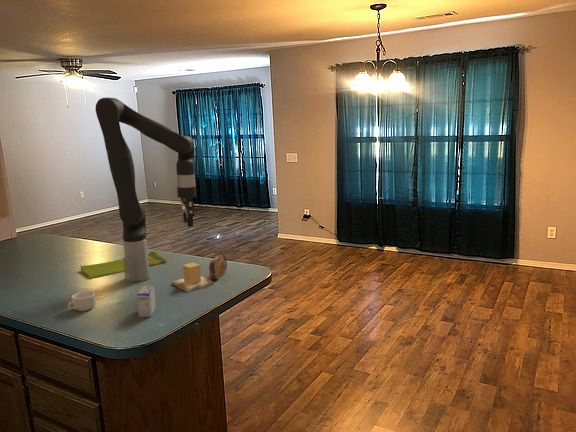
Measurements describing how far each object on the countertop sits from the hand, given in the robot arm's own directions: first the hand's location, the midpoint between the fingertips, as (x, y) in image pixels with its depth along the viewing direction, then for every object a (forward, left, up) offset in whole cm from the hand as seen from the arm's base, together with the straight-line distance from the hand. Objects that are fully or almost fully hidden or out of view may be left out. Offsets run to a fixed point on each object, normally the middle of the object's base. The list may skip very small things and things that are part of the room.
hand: (188, 224), depth 190 cm
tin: (+10, -5, -24) cm, 26 cm away
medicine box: (-29, -21, -24) cm, 43 cm away
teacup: (-45, -2, -24) cm, 51 cm away
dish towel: (-14, +37, -24) cm, 46 cm away
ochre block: (-3, -7, -22) cm, 24 cm away
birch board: (-3, -7, -24) cm, 25 cm away
